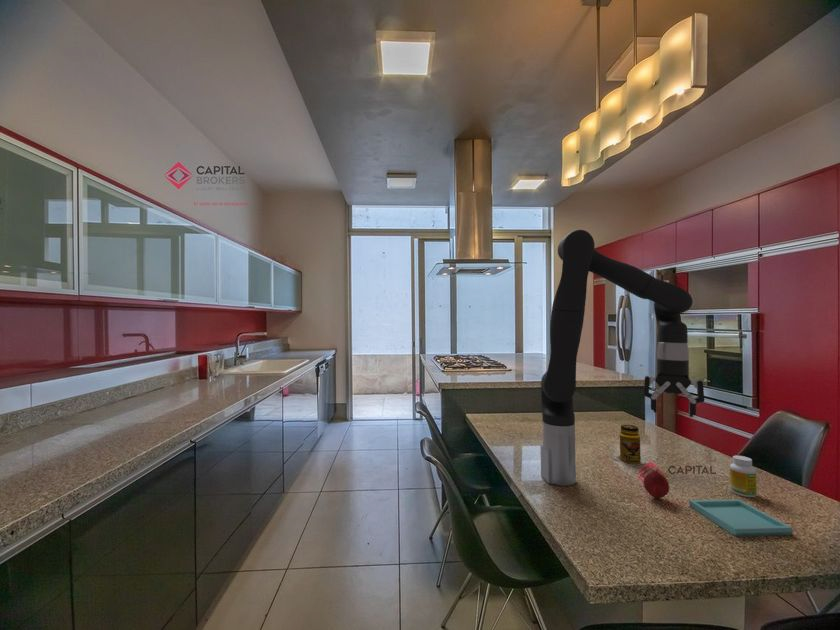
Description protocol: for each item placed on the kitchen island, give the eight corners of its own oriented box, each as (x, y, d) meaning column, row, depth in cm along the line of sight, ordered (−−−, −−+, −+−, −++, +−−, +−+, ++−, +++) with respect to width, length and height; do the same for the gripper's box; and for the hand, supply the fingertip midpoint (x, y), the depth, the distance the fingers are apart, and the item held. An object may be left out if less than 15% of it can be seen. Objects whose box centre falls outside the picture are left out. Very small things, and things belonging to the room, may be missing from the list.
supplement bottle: (751, 499, 96) (750, 463, 96) (726, 491, 101) (725, 456, 101) (760, 495, 98) (759, 459, 99) (736, 487, 103) (734, 453, 103)
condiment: (632, 466, 119) (631, 430, 119) (609, 458, 126) (609, 423, 127) (647, 463, 121) (646, 427, 122) (624, 455, 129) (623, 421, 130)
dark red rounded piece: (673, 505, 93) (673, 473, 93) (649, 503, 94) (648, 472, 95) (663, 494, 99) (662, 465, 99) (640, 492, 100) (639, 463, 100)
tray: (735, 536, 79) (735, 529, 79) (689, 506, 92) (689, 500, 92) (792, 535, 80) (792, 527, 80) (738, 505, 93) (738, 499, 93)
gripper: (643, 357, 105) (643, 413, 104) (705, 360, 97) (706, 420, 97) (643, 355, 111) (643, 408, 111) (701, 358, 104) (701, 415, 103)
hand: (672, 414), depth 104 cm, fingers open, 8 cm apart
